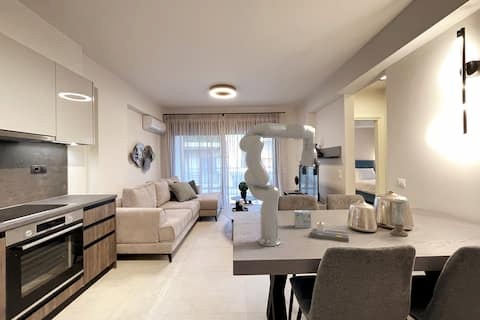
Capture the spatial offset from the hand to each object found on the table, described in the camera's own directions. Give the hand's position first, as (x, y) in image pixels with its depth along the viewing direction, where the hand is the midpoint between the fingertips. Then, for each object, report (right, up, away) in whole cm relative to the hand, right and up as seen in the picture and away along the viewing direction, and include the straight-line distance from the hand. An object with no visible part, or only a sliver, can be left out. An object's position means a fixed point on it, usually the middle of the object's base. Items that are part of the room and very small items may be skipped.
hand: (309, 174), depth 143 cm
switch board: (+9, -36, -9) cm, 38 cm away
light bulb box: (-1, -37, +12) cm, 39 cm away
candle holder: (+52, -36, -6) cm, 63 cm away
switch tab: (+5, -34, -7) cm, 35 cm away
